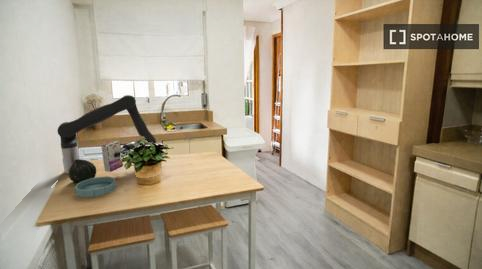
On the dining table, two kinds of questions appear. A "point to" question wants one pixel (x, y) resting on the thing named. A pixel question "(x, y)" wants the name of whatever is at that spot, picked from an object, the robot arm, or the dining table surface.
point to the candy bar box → (111, 156)
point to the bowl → (95, 187)
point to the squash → (81, 170)
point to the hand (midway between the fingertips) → (110, 155)
